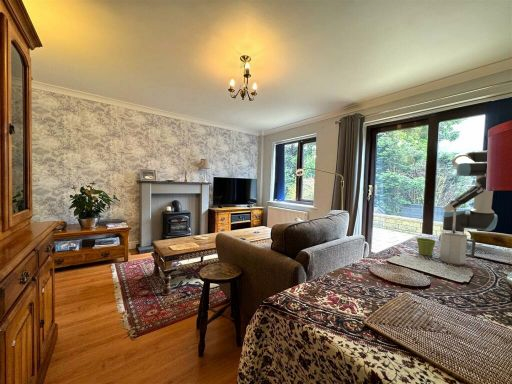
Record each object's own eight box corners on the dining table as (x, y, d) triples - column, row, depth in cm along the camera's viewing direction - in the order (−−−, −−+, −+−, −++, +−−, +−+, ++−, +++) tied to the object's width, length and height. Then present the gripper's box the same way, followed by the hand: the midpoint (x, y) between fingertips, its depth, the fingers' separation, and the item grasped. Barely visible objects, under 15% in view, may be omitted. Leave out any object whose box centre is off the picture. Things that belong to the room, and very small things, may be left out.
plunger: (443, 235, 123) (445, 199, 122) (460, 237, 119) (463, 199, 118) (445, 238, 117) (448, 199, 116) (463, 240, 113) (466, 200, 112)
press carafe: (437, 256, 126) (439, 229, 125) (470, 261, 118) (472, 232, 118) (440, 262, 117) (442, 232, 116) (476, 267, 110) (478, 236, 109)
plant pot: (412, 252, 132) (412, 238, 131) (421, 250, 136) (421, 237, 135) (429, 257, 123) (430, 242, 123) (438, 255, 127) (439, 241, 127)
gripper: (478, 175, 118) (437, 203, 128) (489, 174, 103) (442, 206, 113) (491, 185, 115) (448, 213, 125) (505, 186, 101) (455, 217, 111)
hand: (445, 210), depth 119 cm, fingers closed on plunger, 4 cm apart
